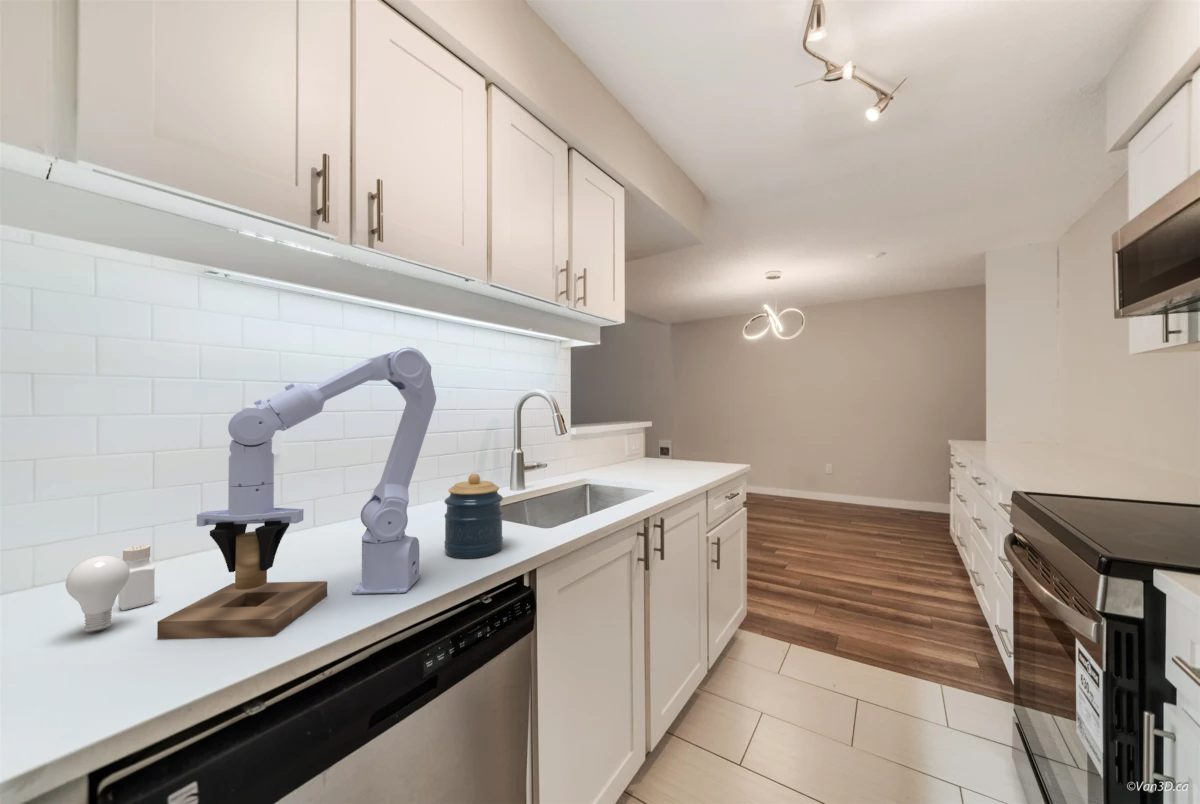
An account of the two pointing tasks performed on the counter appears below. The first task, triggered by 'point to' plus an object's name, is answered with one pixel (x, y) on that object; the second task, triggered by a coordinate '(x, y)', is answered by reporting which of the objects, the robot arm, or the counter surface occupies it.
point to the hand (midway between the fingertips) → (251, 569)
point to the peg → (248, 562)
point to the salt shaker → (137, 578)
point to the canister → (473, 519)
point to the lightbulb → (97, 588)
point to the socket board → (243, 611)
